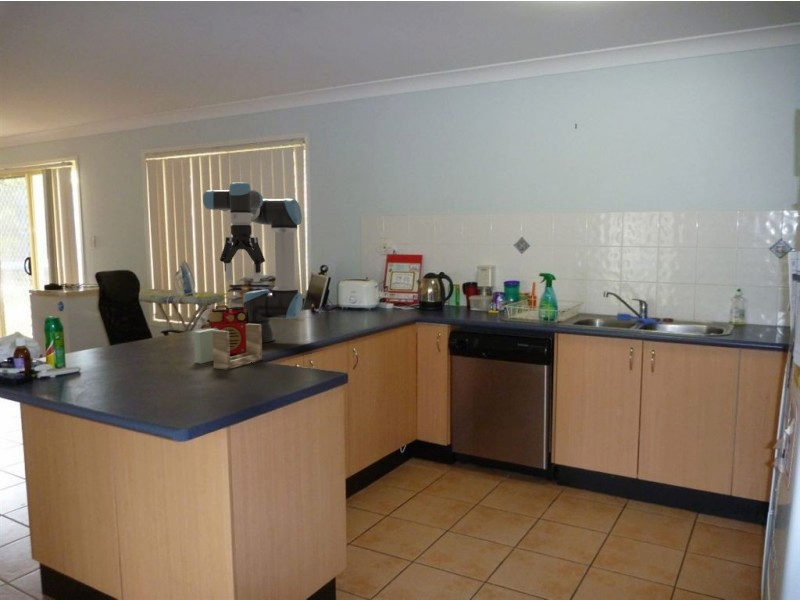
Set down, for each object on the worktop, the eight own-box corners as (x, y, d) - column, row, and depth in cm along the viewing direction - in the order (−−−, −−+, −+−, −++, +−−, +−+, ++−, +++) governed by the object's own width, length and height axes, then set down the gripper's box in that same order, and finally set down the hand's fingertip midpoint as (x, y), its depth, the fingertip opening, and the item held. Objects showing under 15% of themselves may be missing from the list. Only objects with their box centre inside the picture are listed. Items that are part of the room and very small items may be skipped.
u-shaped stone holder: (250, 358, 250) (248, 323, 248) (262, 359, 247) (261, 324, 246) (213, 368, 232) (212, 330, 231) (226, 369, 229) (225, 331, 228)
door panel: (213, 357, 251) (212, 328, 249) (219, 358, 249) (218, 328, 248) (195, 362, 242) (193, 331, 241) (200, 363, 241) (199, 332, 239)
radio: (210, 356, 253) (208, 307, 251) (210, 352, 263) (209, 304, 260) (250, 354, 257) (248, 306, 255) (249, 350, 267) (248, 303, 265)
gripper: (209, 224, 238) (211, 280, 240) (259, 224, 226) (261, 282, 228) (223, 224, 244) (225, 279, 247) (273, 224, 232) (275, 281, 235)
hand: (242, 281), depth 237 cm, fingers open, 13 cm apart
